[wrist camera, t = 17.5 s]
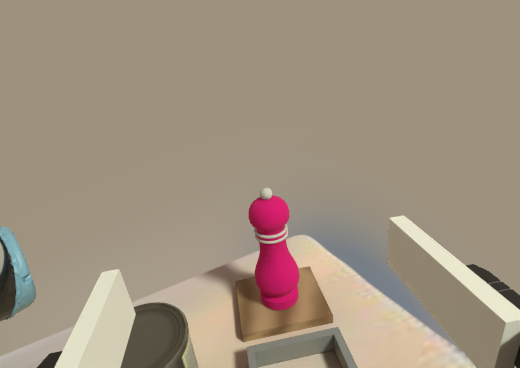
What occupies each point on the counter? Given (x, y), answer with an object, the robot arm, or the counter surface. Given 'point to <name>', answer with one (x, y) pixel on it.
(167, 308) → the coffee can
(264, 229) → the pepper mill
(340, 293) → the counter surface
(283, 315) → the board
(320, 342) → the holder
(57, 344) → the counter surface
